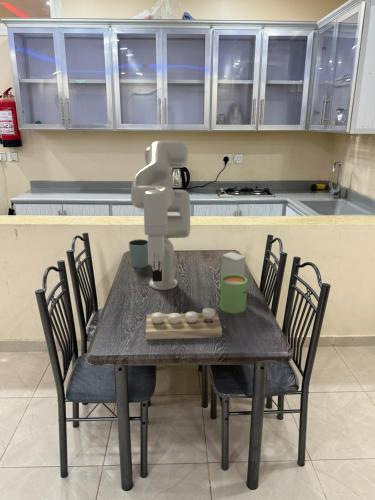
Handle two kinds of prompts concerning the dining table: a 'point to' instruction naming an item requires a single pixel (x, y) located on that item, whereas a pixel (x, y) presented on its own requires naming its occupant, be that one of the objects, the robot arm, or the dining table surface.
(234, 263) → the skincare box
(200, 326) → the board
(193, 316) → the white egg
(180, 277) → the dining table surface
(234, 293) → the mug
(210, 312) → the egg
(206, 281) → the dining table surface
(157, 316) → the off-white oval piece
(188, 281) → the dining table surface
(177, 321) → the white egg
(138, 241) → the teal cup
